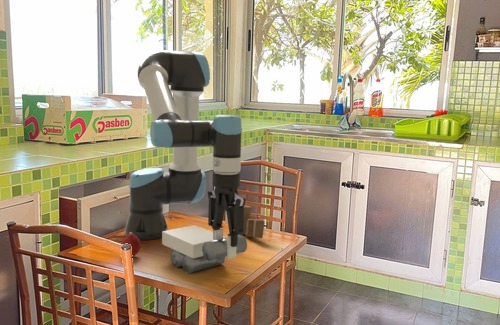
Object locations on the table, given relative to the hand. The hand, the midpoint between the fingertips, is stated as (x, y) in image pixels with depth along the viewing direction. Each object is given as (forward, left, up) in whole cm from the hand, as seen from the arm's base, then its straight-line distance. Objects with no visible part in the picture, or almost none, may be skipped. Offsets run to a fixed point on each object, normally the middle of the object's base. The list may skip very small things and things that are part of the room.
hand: (224, 254), depth 134 cm
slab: (-15, 0, -2) cm, 15 cm away
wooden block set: (-25, +33, -7) cm, 42 cm away
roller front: (-11, 0, -7) cm, 13 cm away
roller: (+1, 0, 0) cm, 1 cm away
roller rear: (-18, 0, -5) cm, 19 cm away
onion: (-31, -12, -7) cm, 34 cm away
